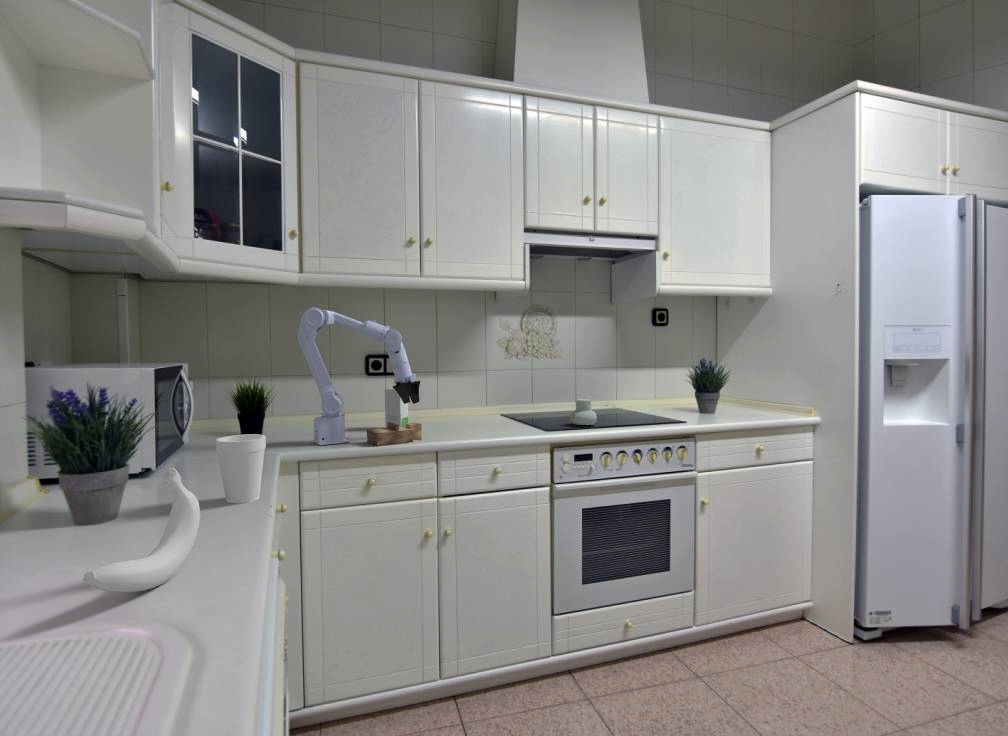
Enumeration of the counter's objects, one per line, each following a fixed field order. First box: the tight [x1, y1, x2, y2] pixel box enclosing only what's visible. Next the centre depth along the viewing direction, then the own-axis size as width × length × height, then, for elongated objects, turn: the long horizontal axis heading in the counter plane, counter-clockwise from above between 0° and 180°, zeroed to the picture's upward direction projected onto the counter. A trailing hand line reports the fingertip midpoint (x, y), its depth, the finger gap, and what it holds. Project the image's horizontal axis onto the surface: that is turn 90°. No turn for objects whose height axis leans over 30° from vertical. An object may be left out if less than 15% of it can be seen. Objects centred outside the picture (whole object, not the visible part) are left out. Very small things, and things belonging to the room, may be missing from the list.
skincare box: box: [384, 387, 409, 428], centre depth 211 cm, size 8×7×16 cm
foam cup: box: [215, 433, 267, 504], centre depth 118 cm, size 10×9×13 cm
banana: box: [82, 466, 201, 593], centre depth 77 cm, size 5×19×15 cm, turn 178°
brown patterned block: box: [406, 421, 423, 441], centre depth 188 cm, size 4×4×6 cm
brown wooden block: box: [366, 426, 414, 447], centre depth 183 cm, size 12×9×4 cm
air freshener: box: [570, 398, 598, 426], centre depth 216 cm, size 11×8×10 cm
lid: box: [370, 422, 411, 433], centre depth 183 cm, size 11×8×3 cm
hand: (411, 403), depth 189 cm, fingers open, 7 cm apart
